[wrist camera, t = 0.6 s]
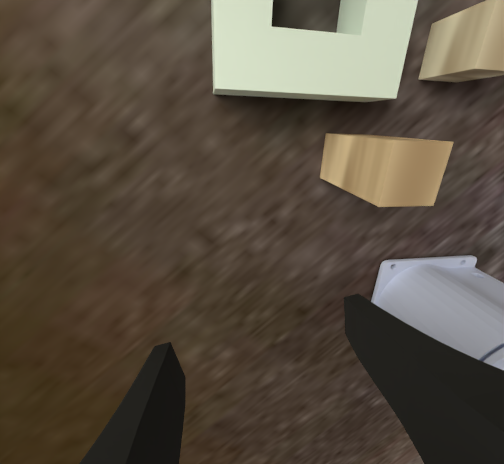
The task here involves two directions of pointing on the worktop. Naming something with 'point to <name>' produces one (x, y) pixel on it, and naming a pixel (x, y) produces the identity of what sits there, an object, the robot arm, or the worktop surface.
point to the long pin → (386, 168)
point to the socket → (311, 52)
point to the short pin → (466, 45)
